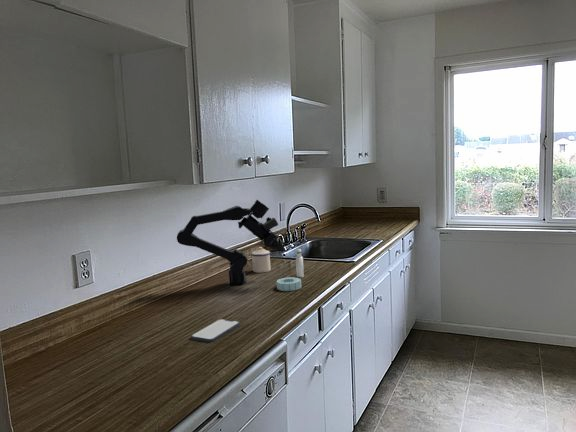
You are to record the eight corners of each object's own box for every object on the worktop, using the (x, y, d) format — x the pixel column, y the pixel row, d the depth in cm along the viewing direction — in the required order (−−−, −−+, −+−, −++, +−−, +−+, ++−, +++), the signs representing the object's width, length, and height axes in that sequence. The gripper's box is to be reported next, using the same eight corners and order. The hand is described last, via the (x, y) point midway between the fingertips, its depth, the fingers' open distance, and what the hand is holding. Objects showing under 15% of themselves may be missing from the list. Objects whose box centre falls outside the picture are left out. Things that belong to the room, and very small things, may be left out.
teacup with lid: (273, 268, 235) (271, 245, 234) (267, 273, 227) (266, 249, 225) (250, 268, 239) (249, 245, 237) (244, 272, 230) (242, 249, 228)
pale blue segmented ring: (274, 290, 196) (274, 283, 195) (280, 284, 205) (280, 277, 205) (298, 291, 193) (297, 283, 193) (303, 284, 203) (302, 277, 203)
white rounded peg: (296, 277, 215) (294, 250, 214) (297, 275, 218) (296, 248, 217) (303, 277, 215) (301, 250, 213) (304, 275, 218) (302, 248, 216)
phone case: (212, 345, 144) (241, 326, 158) (211, 340, 144) (241, 321, 158) (189, 341, 148) (220, 323, 162) (188, 336, 148) (219, 318, 162)
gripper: (269, 214, 201) (297, 237, 204) (263, 210, 219) (288, 231, 222) (252, 235, 200) (280, 257, 204) (248, 229, 219) (273, 249, 222)
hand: (281, 248), depth 213 cm, fingers open, 9 cm apart
